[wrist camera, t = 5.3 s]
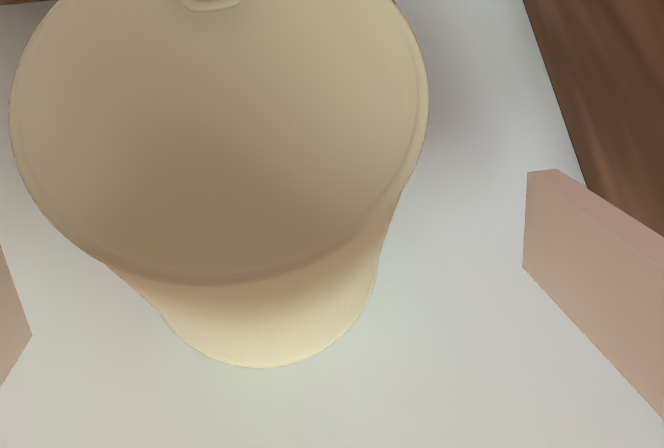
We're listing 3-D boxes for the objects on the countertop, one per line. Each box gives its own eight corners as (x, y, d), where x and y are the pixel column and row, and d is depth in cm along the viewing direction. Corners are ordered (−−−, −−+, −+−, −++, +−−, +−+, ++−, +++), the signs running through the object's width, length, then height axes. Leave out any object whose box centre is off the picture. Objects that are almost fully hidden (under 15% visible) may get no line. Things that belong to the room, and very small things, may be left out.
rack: (-186, 611, 18) (-950, 859, 7) (-98, -11, 28) (-379, -325, 16) (719, 451, 21) (1180, 453, 10) (527, -70, 30) (654, -376, 19)
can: (348, 133, 25) (376, -115, 14) (404, 338, 22) (496, 226, 11) (136, 172, 24) (-13, -62, 13) (162, 393, 21) (-5, 331, 10)
